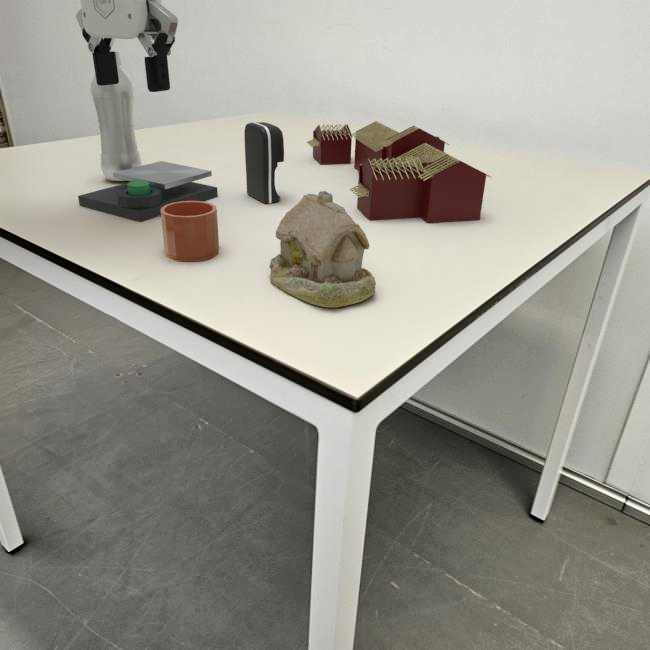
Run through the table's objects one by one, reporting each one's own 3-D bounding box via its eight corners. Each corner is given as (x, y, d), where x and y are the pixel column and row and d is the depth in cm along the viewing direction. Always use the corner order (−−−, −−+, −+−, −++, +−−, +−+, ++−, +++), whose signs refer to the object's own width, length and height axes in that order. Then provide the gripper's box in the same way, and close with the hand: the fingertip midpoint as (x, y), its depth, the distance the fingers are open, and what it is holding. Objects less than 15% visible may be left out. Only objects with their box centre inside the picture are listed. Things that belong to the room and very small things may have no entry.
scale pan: (165, 189, 87) (164, 184, 87) (113, 177, 92) (112, 172, 92) (212, 176, 94) (211, 170, 94) (161, 165, 100) (161, 160, 99)
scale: (140, 222, 83) (137, 200, 82) (79, 206, 90) (75, 184, 88) (218, 197, 95) (216, 177, 94) (159, 184, 102) (157, 164, 100)
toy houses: (496, 218, 89) (508, 148, 84) (364, 226, 84) (368, 153, 80) (392, 153, 127) (396, 102, 123) (297, 156, 123) (297, 103, 118)
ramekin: (193, 266, 70) (189, 220, 68) (153, 254, 73) (148, 210, 71) (230, 250, 75) (227, 206, 73) (191, 239, 78) (188, 197, 76)
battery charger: (287, 202, 94) (287, 126, 88) (265, 205, 92) (264, 128, 87) (266, 191, 99) (265, 119, 94) (245, 194, 97) (242, 120, 92)
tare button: (138, 198, 84) (137, 187, 83) (124, 194, 85) (122, 184, 85) (155, 193, 86) (153, 183, 85) (140, 190, 88) (139, 179, 87)
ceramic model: (251, 268, 70) (248, 182, 65) (334, 252, 75) (336, 172, 70) (311, 317, 59) (313, 219, 55) (402, 294, 65) (411, 203, 60)
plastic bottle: (96, 179, 103) (76, 51, 94) (133, 173, 107) (118, 50, 98) (113, 187, 99) (94, 54, 90) (150, 181, 103) (136, 53, 94)
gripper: (39, -69, 72) (66, 85, 80) (139, -76, 63) (157, 96, 71) (92, -63, 77) (112, 80, 85) (190, -69, 69) (202, 90, 77)
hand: (133, 87), depth 78 cm, fingers open, 9 cm apart
